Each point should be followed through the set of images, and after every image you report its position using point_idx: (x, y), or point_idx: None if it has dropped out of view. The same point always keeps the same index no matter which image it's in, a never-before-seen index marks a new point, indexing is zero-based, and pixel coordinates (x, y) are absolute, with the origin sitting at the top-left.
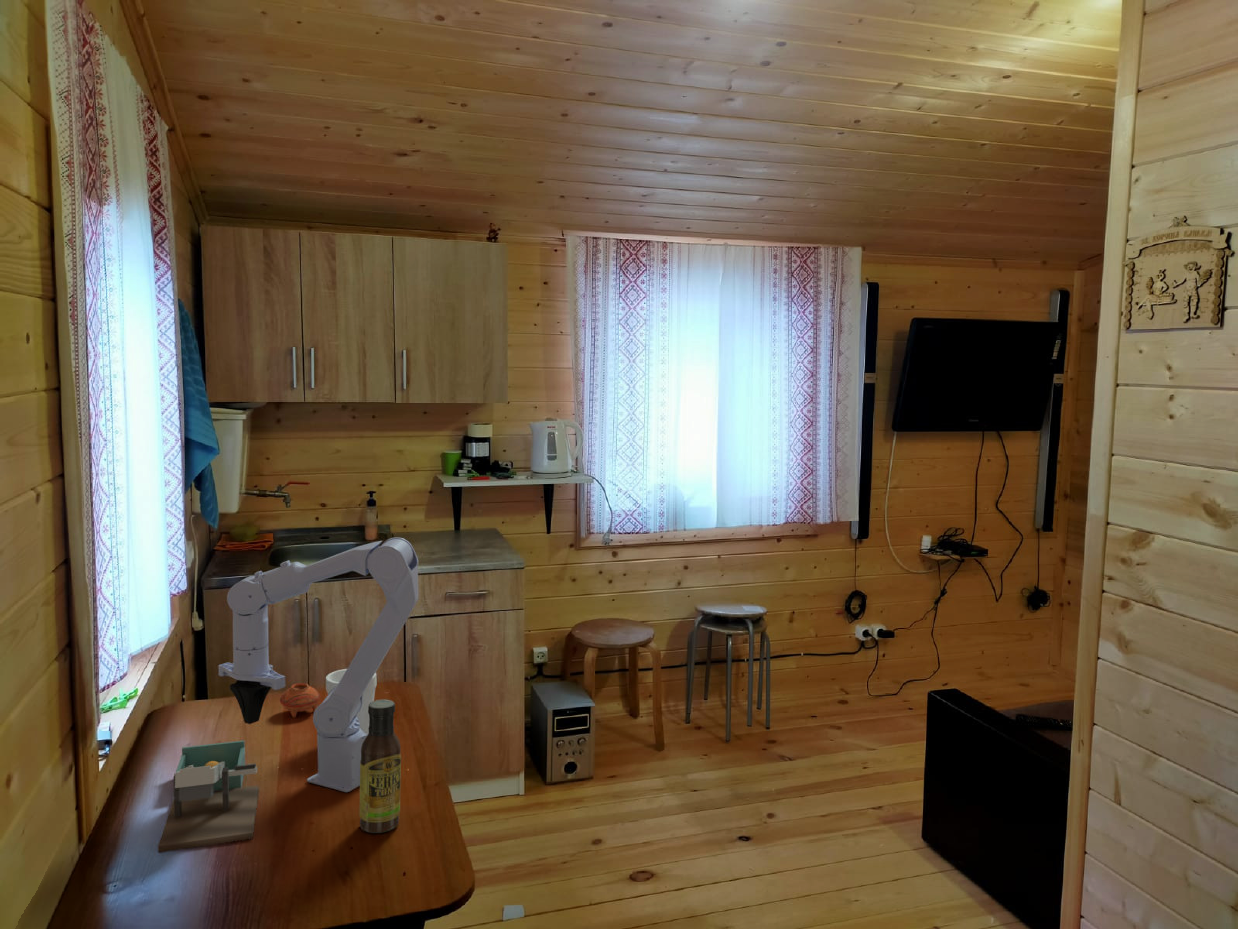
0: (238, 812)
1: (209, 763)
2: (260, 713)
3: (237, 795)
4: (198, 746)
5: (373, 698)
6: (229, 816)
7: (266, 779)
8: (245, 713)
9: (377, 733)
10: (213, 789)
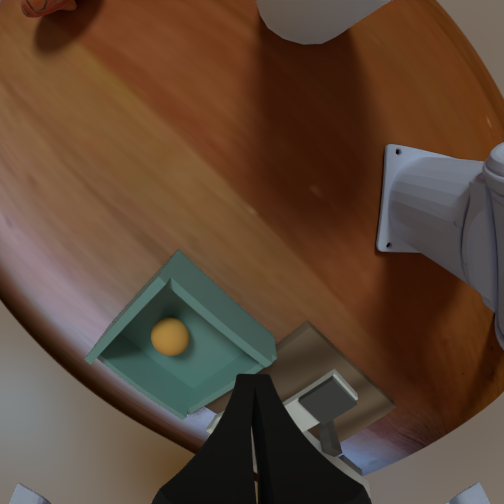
0: None
1: (167, 353)
2: (276, 392)
3: (302, 369)
4: (103, 348)
5: None
6: None
7: (279, 274)
8: (254, 443)
9: None
10: (344, 460)
